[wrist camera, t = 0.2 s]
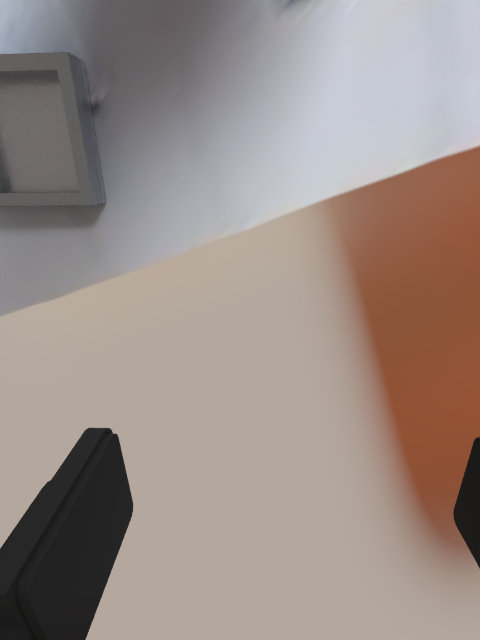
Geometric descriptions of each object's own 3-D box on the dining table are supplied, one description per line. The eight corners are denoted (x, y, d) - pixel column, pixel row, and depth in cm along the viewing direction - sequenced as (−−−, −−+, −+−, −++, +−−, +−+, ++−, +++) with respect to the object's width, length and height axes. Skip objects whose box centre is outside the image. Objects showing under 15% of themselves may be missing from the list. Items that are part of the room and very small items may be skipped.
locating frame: (-43, 66, 33) (-71, 56, 30) (84, 62, 32) (67, 52, 29) (-5, 203, 38) (-26, 206, 35) (106, 202, 37) (93, 205, 34)
